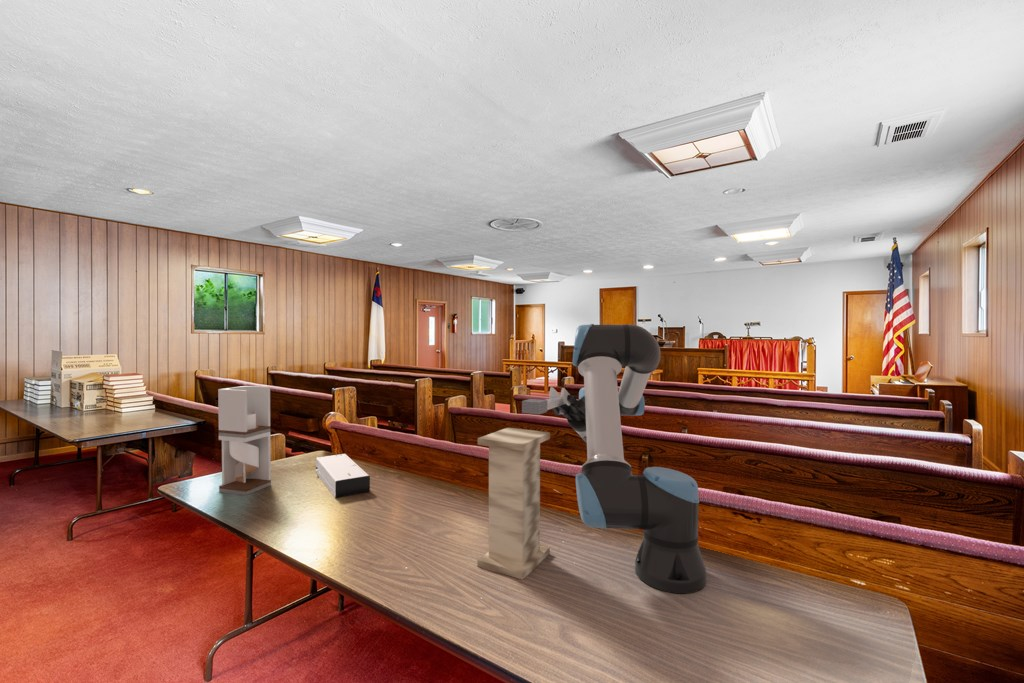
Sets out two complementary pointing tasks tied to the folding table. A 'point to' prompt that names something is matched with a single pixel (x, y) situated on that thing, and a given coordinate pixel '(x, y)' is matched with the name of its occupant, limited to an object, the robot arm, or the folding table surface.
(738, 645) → the folding table surface
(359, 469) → the laminator
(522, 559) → the pedestal
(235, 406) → the white tower
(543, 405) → the grey long bar
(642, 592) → the folding table surface
